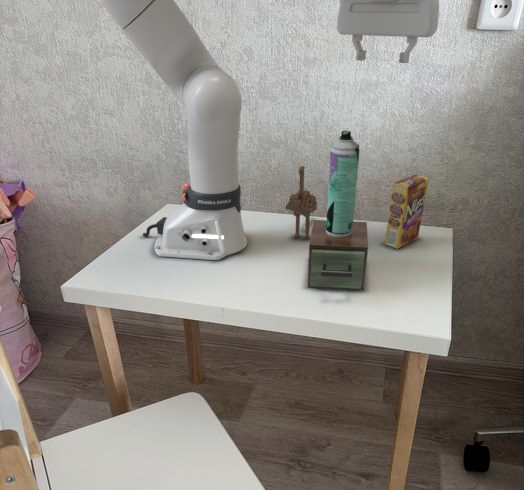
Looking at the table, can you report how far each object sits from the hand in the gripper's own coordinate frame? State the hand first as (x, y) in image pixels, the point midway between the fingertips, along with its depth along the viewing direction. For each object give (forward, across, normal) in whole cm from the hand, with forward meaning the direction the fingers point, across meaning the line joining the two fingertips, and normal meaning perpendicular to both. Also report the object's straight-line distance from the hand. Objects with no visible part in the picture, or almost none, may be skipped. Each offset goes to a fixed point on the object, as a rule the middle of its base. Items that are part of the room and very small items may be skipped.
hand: (381, 61), depth 110 cm
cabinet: (+39, +3, -21) cm, 44 cm away
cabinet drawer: (+38, +4, -24) cm, 45 cm away
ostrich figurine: (+39, -15, -2) cm, 42 cm away
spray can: (+30, +3, -21) cm, 36 cm away
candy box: (+39, +9, +3) cm, 40 cm away
